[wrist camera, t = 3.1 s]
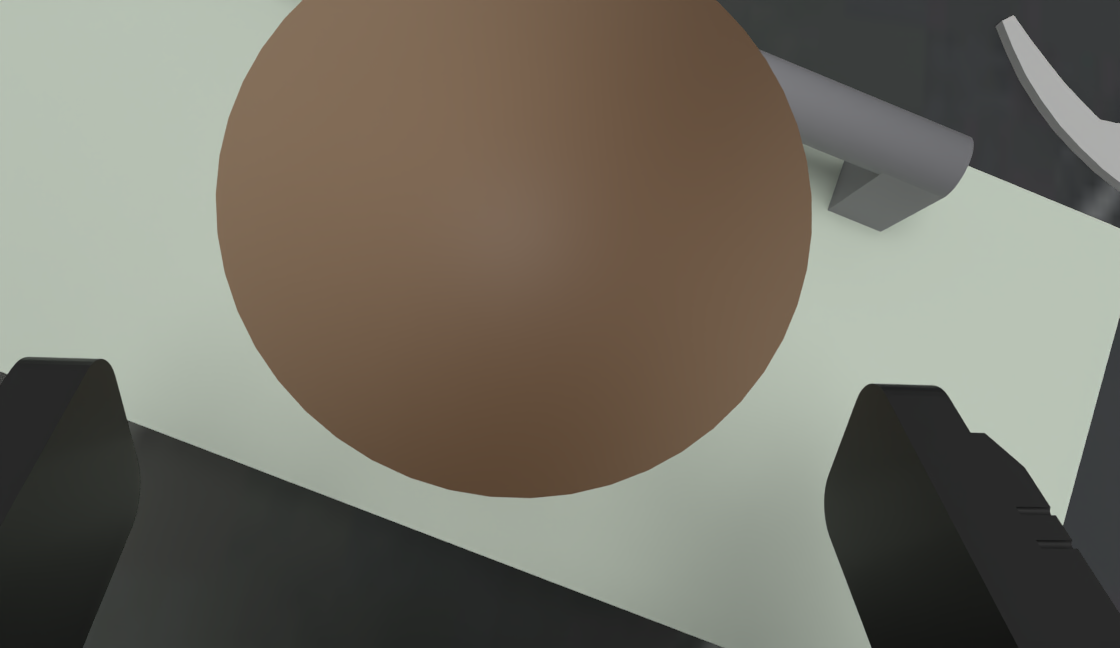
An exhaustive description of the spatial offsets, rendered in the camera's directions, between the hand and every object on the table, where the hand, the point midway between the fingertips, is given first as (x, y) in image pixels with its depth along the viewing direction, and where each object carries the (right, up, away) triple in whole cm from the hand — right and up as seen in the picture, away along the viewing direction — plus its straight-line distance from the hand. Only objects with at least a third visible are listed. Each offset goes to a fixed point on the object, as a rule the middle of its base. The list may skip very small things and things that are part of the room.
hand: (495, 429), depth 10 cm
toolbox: (-1, +1, +17) cm, 17 cm away
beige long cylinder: (-2, -1, +15) cm, 15 cm away
